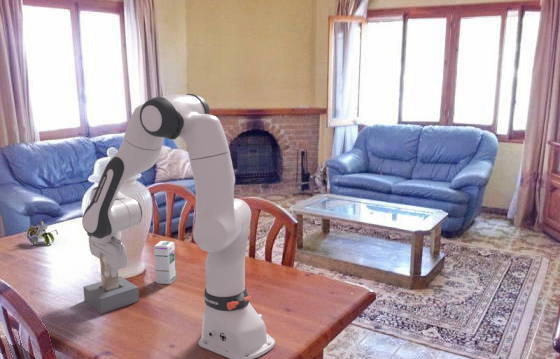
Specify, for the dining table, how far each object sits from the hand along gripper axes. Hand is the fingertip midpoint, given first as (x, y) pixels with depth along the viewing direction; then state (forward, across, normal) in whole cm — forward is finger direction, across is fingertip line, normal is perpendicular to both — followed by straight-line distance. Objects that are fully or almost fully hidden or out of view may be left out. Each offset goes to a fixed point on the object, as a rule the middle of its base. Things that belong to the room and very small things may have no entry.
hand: (109, 273), depth 162 cm
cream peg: (+7, 0, 0) cm, 7 cm away
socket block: (+10, 0, 0) cm, 10 cm away
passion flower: (+10, +78, -4) cm, 79 cm away
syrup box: (+10, +2, -22) cm, 24 cm away
